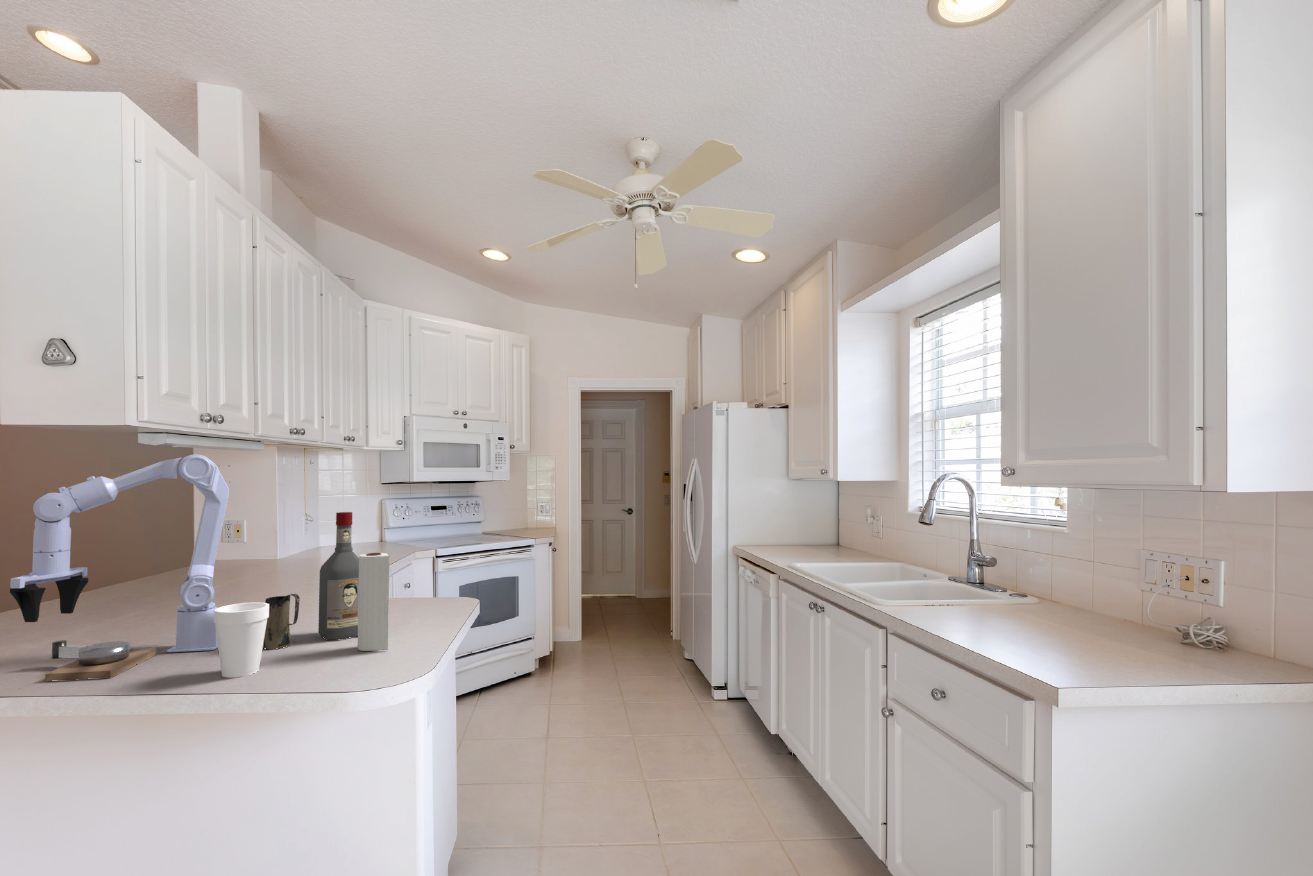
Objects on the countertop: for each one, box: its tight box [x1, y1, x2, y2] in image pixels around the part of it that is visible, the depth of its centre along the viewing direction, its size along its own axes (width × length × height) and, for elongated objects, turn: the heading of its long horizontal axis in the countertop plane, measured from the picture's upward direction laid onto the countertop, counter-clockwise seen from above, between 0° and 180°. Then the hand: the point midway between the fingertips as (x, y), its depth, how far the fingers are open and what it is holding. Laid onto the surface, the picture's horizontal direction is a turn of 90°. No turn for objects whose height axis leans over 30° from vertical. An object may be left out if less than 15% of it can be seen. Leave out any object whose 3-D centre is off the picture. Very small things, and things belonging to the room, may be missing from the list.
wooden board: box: [44, 647, 157, 682], centre depth 135 cm, size 11×16×2 cm
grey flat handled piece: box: [51, 640, 131, 665], centre depth 135 cm, size 15×8×3 cm, turn 86°
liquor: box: [318, 511, 359, 641], centre depth 161 cm, size 9×9×30 cm
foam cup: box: [214, 602, 269, 679], centre depth 132 cm, size 10×9×13 cm
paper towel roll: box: [357, 552, 391, 652], centre depth 149 cm, size 7×6×21 cm
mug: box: [262, 593, 300, 650], centre depth 151 cm, size 8×6×12 cm
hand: (49, 617), depth 135 cm, fingers open, 7 cm apart
